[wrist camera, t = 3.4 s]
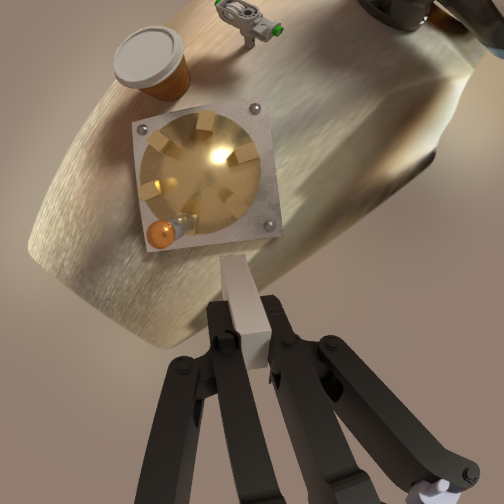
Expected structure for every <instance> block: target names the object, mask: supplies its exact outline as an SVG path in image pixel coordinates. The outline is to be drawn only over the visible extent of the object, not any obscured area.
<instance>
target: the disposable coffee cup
mask: <svg viewBox="0 0 504 504" xmlns="http://www.w3.org/2000/svg"><path fill="white" fill-rule="evenodd" d="M183 53H184V43H183V40H182V38H181V36H180V35H179V34H178V33H177V32H176V31H174V30H171V29H169V28H166V27H163V26H150V27H146V28H143V29H141V30H138V31H136V32H134V33H133V34H131V35H130V36H129V37H127V38H126V39H125V40H124V41H123V42H122V44H121V45H120V46H119V48H118V49H117V51H116V53H115V56H114V59H113V67H114V73H115V76H116V79H117V80H118V81H119V83H121V84H122V85H124V86H126V87H128V88H132V89H139V90H141V91H143V92H145V93H147V94H149V95H152V96H154V97H156V98H158V99H160V100H162V101H172V100H175V99H178V98H180V97H181V96H182V95H184V94H185V92H186V91H187V90H188V88H189V86H190V76H189V72H188V69H187V65H186V61H185V57H184V54H183Z"/></svg>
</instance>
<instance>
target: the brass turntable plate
mask: <svg viewBox="0 0 504 504" xmlns="http://www.w3.org/2000/svg"><path fill="white" fill-rule="evenodd" d="M146 142H148V143H149V144H148V146H147V148H146V150H145V152H144V155H143V158H142V162H141V167H140V185H141V186H139V187H137V190H138V193H139V196H140V199H141V202H146V204H147V205H148V207H149V209H150V210H151V212H152V213H153V214H154V215H155V216H156V217H157V218H158V219H159V221H156V222H153V223H152V224H150V226H149V227H148V229H147V233H146V237H147V241H148V243H149V244H150V245H151V246H152V247H153V248H155V249H165V248H167V247H168V246H170V245H171V244H172V243H173V242H174V241H176V240H178V239H179V238H181V237H183V236H184V235H189V236H195V235H200V234H209V233H214V232H217V231H220V230H222V229H224V228H226V227H228V226H230V225H231V224H233V223H234V222H236V221H237V220H238V219H239V218H240V217H242V216H243V214H244V213H245V212H246V211H247V210H248V208H249V207H250V206H251V204H252V202H253V201H254V199H255V197H256V194H257V191H258V189H259V184H260V179H261V163H260V157H259V154H258V151H257V148H256V145H255V143H254V142H253V140H252V139H251V137H250V136H249V134H248V133H247V132H246V131H245V130H244V129H243V128H242V127H241V126H240V125H239V124H237V123H236V122H234V121H233V120H231V119H229V118H227V117H224V116H222V115H218V114H217V113H216V111H208V110H200V113H191V114H187V115H184V116H181V117H179V118H176V119H174V120H173V121H171V122H169V123H168V124H166V125H165V126H164V127H162V128H161V129H160V130H157V129H155V130H154V131H153V132H152V134H151V135H150V136H149V137H148V139H147V140H146Z"/></svg>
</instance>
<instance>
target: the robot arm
mask: <svg viewBox="0 0 504 504" xmlns="http://www.w3.org/2000/svg"><path fill="white" fill-rule="evenodd" d="M358 1H359V2H360V4H361V5H362V6H363V7H364V8H365V9H366V10H367V11H368V12H369V13H370V14H371V15H373V16H374V17H375V18H377V19H378V20H380V21H381V22H383V23H385V24H387V25H389V26H391V27H394V28H396V29H400V30H404V31H414V30H417V29H419V28H420V27H421V26H422V25H423V24H424V23H425V21H426V19H427V15H428V13H429V9H430V6H431V4H432V3H433V2H434V1H435V0H358ZM437 1H438V2H439V3H440V4H442V5H443V6H444V7H445V8H446V9H448V10H449V11H450V12H451V13H452V14H453V15H454V16H455V17H456V18H457V19H458V20H459V21H460V22H461V23H463V24H464V25H465V26H466V27H467V28H468V29H469V30H470V31H471V32H472V34H473V35H474V36H475V37H476V38H477V39H478V40H479V41H480V42H481V44H483V45H484V46H485V47H486V48H487V49H488V50H489V51H490V52H491V53H492V54H494V55H495V56H496V57H498V58H501V59H504V0H437ZM220 261H221V285H222V295H223V300H224V301H215V302H209V304H208V306H207V308H206V310H207V320H208V329H209V337H210V344H211V345H210V349H209V350H208V352H207V353H206V354H205V355H203V356H201V357H198V358H196V359H193V358H192V357H188V356H180V357H177V358H175V359H174V360H172V361H171V363H170V365H169V367H168V370H167V374H166V377H165V381H164V384H163V387H162V391H161V395H160V398H159V402H158V406H157V409H156V413H155V417H154V421H153V424H152V429H151V433H150V436H149V440H148V444H147V448H146V452H145V456H144V461H143V465H142V469H141V474H140V478H139V483H138V487H137V492H136V497H135V502H134V504H189V499H190V492H191V485H192V478H193V472H194V465H195V458H196V451H197V445H198V438H199V432H200V425H201V419H202V413H203V407H204V400H205V398H207V397H210V396H212V395H215V394H217V393H218V399H219V405H220V411H221V417H222V422H223V427H224V433H225V438H226V444H227V448H228V454H229V458H230V463H231V468H232V473H233V477H234V482H235V486H236V491H237V495H238V499H239V503H240V504H286V501H285V499H284V497H283V496H282V494H281V492H280V490H279V487H278V483H277V480H276V477H275V473H274V470H273V466H272V463H271V460H270V456H269V453H268V449H267V446H266V442H265V438H264V435H263V431H262V428H261V424H260V420H259V417H258V413H257V409H256V405H255V401H254V397H253V394H252V390H251V386H250V382H249V378H248V374H247V370H250V369H258V368H264V367H268V362H269V365H270V368H271V369H270V376H269V384H271V382H272V383H273V386H274V389H275V393H276V396H277V399H278V402H279V405H280V408H281V412H282V414H283V418H284V421H285V424H286V427H287V430H288V433H289V436H290V439H291V442H292V445H293V449H294V452H295V455H296V457H297V461H298V463H299V467H300V470H301V472H302V476H303V479H304V481H305V484H306V487H307V490H308V502H309V504H386V503H383V502H381V501H380V499H379V497H378V495H377V493H376V490H375V488H374V486H373V483H372V481H371V479H370V477H369V475H368V474H367V473H366V472H365V471H363V470H361V469H359V467H358V466H357V464H356V461H355V459H354V457H353V455H352V452H351V450H350V448H349V445H348V443H347V441H346V439H345V436H344V434H343V432H342V430H341V427H340V425H339V423H338V420H337V418H336V416H335V413H336V414H337V415H338V417H339V418H340V419H341V420H342V421H343V423H344V424H345V425H346V427H347V428H348V429H349V430H350V431H351V433H352V434H353V435H354V436H355V438H356V439H357V440H358V441H359V443H360V444H361V445H362V446H363V447H364V449H365V450H366V451H367V452H368V454H369V455H370V456H371V457H372V458H373V460H374V461H375V462H376V463H377V464H378V466H379V467H380V468H381V469H382V470H383V472H384V473H385V474H386V475H387V476H388V477H389V479H390V480H391V481H392V482H393V483H394V484H395V485H396V486H398V487H399V488H400V489H402V490H403V491H405V492H407V493H408V496H407V497H406V503H407V504H456V503H457V500H458V498H459V496H460V494H461V492H462V491H465V490H467V489H469V488H471V487H473V486H474V485H475V484H476V483H477V481H478V479H479V476H480V469H479V467H478V465H477V464H476V463H475V462H473V461H471V460H468V459H466V458H464V457H461V456H459V455H457V454H455V453H453V452H451V451H448V450H447V449H445V448H444V447H443V446H442V445H441V444H440V443H439V442H438V441H437V439H436V438H435V437H434V436H433V435H432V434H431V433H430V432H429V431H428V430H427V429H426V428H425V427H424V426H423V425H422V423H421V422H420V421H419V420H418V419H417V418H416V417H415V416H414V415H413V414H412V413H411V412H410V411H409V410H408V408H407V407H406V406H405V405H404V404H403V403H402V402H401V401H400V400H399V399H398V398H397V397H396V396H395V395H394V394H393V392H391V390H390V389H389V388H388V387H387V386H386V385H385V384H384V383H383V382H382V381H381V380H380V379H379V378H378V377H377V376H376V374H375V373H374V372H373V371H372V370H371V369H370V368H369V367H368V366H367V365H366V364H365V363H364V362H363V361H362V360H361V359H360V358H359V357H358V355H357V354H356V353H355V352H354V351H353V350H352V349H351V348H350V347H349V346H348V345H347V344H346V343H345V342H344V341H343V340H342V339H341V338H339V337H337V336H334V335H328V336H324V337H323V338H321V339H320V341H319V342H314V341H306V340H303V339H301V338H300V337H299V336H298V335H297V334H295V333H294V332H293V330H292V327H291V325H290V323H289V321H288V318H287V316H286V314H285V311H284V309H283V308H282V305H281V303H280V300H279V299H278V298H276V297H275V296H274V295H267V296H259V294H258V291H257V288H256V285H255V282H254V280H253V277H252V274H251V271H250V268H249V266H248V263H247V260H246V257H245V254H242V255H229V256H220ZM333 410H334V411H335V413H334V411H333Z"/></svg>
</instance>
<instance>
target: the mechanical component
mask: <svg viewBox="0 0 504 504" xmlns="http://www.w3.org/2000/svg"><path fill="white" fill-rule="evenodd" d="M236 2H238V3H240V4H242V5H243V6H244V7H245V8H243V6H241V5H240V4H238V3H236ZM215 6H216V9H217V12H218V15H219V17H220V18H221V19H222V20H223V21H224V22H226V23H228V24H230V25H232V26H234V27H236V28H238V29H240V33H241V35H243V36H244V40H245V47H246V48H248V49H251V48H252V46H255V38H257V39H259V40H260V41H262V42H268V41H269V40H270V39H271V38H272V37H273V36H274V35H275V36H276V37H277V36H279V35H280V34H281V33H282V31H283V29H284V28H283V27H281V23H279V22H277V21H274V22H271V21H269V20H268V19H266V18H264V17H263V14H262V13H260V11H259V8H258V7H257V6H255V5H251V4H249V3H246V2H244V1H242V0H216V1H215Z"/></svg>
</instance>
